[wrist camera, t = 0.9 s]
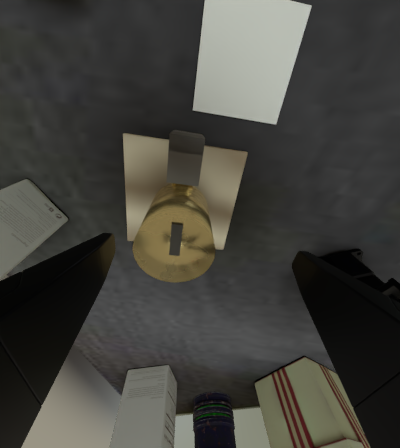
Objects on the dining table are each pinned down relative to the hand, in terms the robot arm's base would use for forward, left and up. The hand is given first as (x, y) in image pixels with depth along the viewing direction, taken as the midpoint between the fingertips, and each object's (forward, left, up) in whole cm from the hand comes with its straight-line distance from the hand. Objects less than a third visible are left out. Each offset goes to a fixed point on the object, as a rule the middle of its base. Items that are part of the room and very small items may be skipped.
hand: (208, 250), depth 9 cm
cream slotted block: (-2, +3, -13) cm, 13 cm away
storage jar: (-57, +13, -13) cm, 60 cm away
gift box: (-53, -10, -13) cm, 55 cm away
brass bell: (-2, +3, -10) cm, 10 cm away
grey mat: (+8, -6, -13) cm, 17 cm away
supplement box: (-40, +22, -13) cm, 47 cm away
